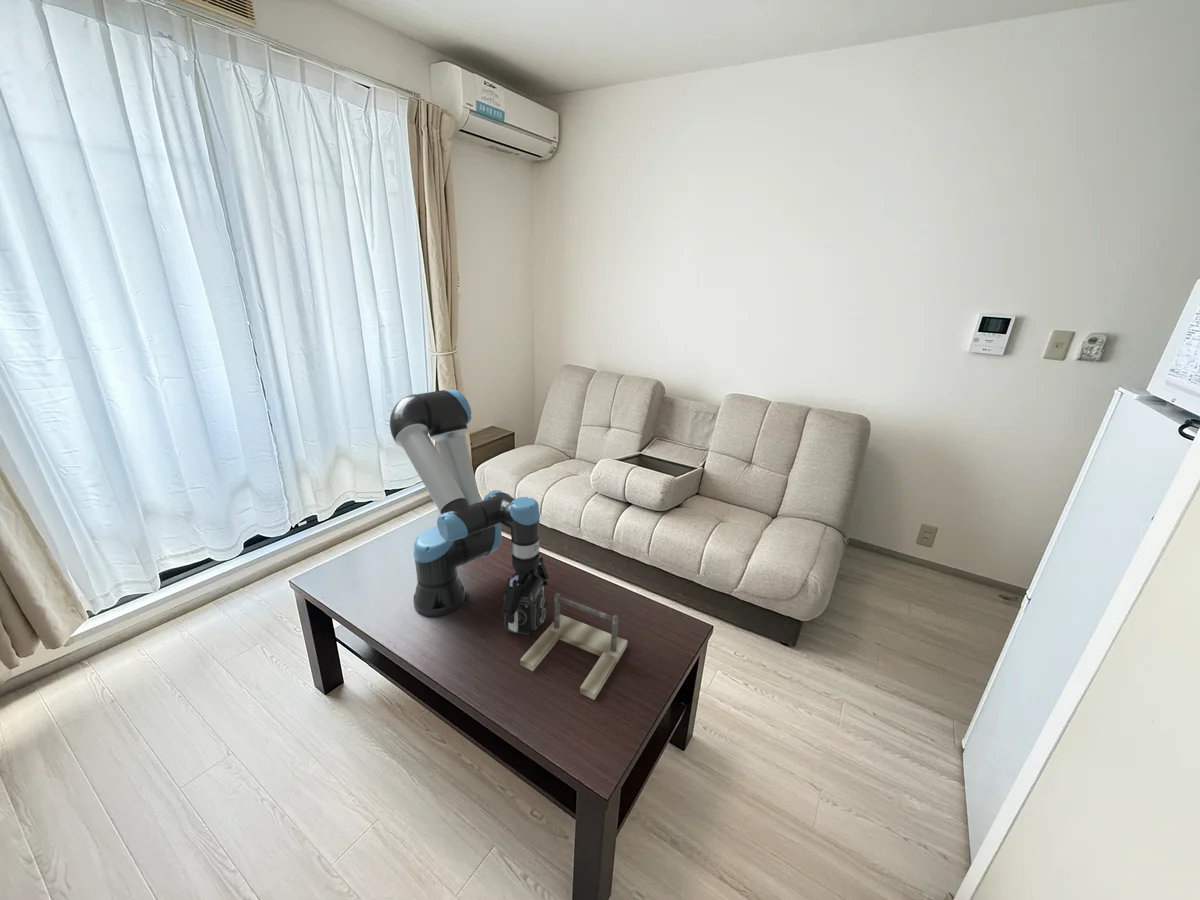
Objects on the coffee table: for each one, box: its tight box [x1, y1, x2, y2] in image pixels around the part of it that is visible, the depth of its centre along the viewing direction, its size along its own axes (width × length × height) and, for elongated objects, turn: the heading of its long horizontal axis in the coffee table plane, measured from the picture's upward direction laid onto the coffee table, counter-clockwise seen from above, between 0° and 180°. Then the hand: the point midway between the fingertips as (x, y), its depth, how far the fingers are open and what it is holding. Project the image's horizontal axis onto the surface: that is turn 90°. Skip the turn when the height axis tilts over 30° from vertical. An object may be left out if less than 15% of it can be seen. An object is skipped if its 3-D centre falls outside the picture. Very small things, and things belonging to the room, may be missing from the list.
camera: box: [503, 573, 548, 636], centre depth 132 cm, size 10×10×15 cm
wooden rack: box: [519, 592, 628, 701], centre depth 123 cm, size 22×20×13 cm
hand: (526, 615), depth 133 cm, fingers open, 12 cm apart
